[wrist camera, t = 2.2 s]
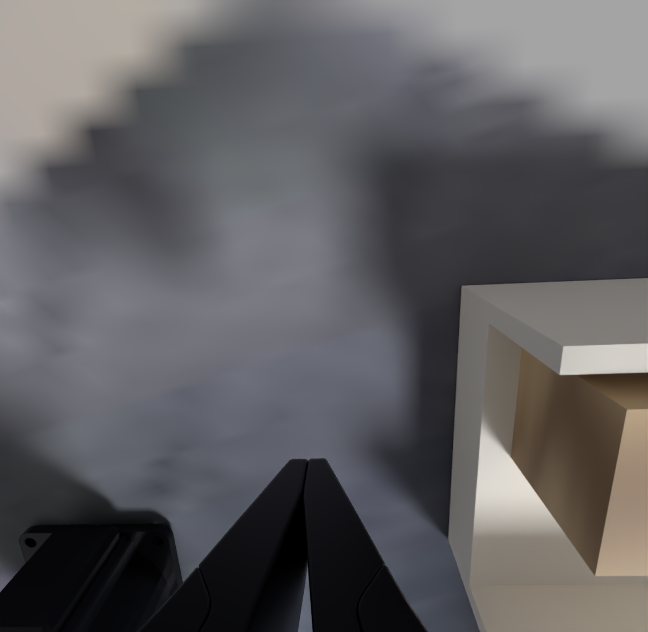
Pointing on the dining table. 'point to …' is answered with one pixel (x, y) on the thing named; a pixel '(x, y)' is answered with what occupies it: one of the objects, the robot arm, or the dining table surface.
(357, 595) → the robot arm
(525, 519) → the channel
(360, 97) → the dining table surface
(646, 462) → the oak block
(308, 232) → the dining table surface
